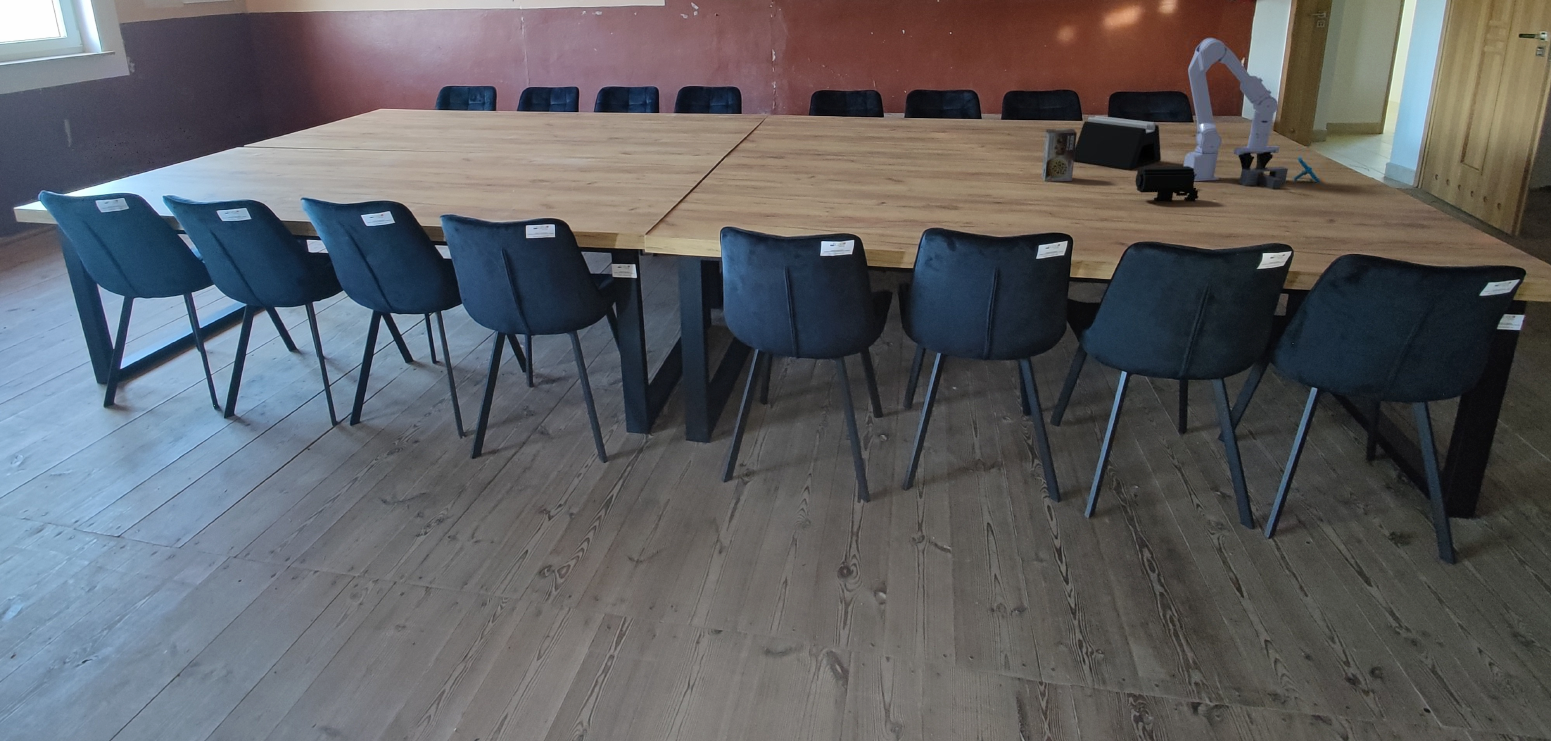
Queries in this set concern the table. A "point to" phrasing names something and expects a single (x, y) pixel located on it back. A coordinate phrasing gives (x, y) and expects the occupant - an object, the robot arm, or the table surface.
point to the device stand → (1118, 143)
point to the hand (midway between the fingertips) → (1251, 176)
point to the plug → (1268, 181)
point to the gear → (1306, 171)
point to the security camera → (1167, 182)
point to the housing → (1251, 174)
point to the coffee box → (1059, 154)
